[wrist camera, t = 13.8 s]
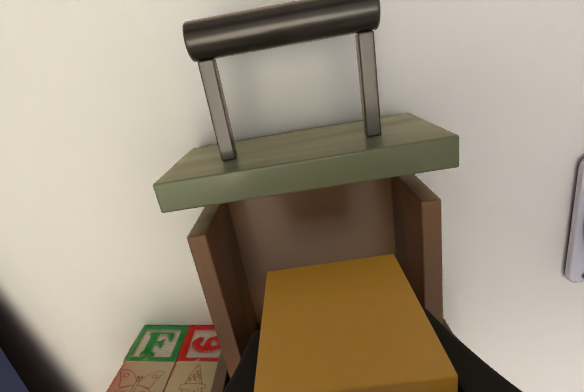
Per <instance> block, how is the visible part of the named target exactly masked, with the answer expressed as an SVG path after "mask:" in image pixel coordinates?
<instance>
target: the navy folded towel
mask: <svg viewBox="0 0 584 392" xmlns="http://www.w3.org/2000/svg"><path fill="white" fill-rule="evenodd" d="M0 392H29V391H28V389H27V388H26V386H25V385H24V383H23V382H22V380H21V379H20V377H19V375H18V374H17V372H16V371H15V369H14V368H13V366H12V365H11V363H10V362H9V360H8V359H7V357H6V356H5V354H4V352H3V351H2V349H1V348H0Z"/></svg>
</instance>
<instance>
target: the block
mask: <svg viewBox="0 0 584 392" xmlns="http://www.w3.org/2000/svg"><path fill="white" fill-rule="evenodd" d="M254 392H458V375H457V373H456V371H455V369H454V367H453V365H452V363H451V361H450V360H449V358H448V356H447V354H446V352H445V350H444V348H443V346H442V344H441V343H440V341H439V339H438V337H437V335H436V333H435V331H434V329H433V327H432V326H431V324H430V322H429V320H428V318H427V316H426V314H425V312H424V310H423V309H422V307H421V305H420V303H419V301H418V299H417V297H416V295H415V293H414V292H413V290H412V288H411V286H410V284H409V282H408V280H407V278H406V276H405V275H404V273H403V271H402V269H401V267H400V265H399V263H398V261H397V259H396V258H395V256H394V254H389V255H382V256H375V257H368V258H361V259H354V260H347V261H340V262H333V263H326V264H319V265H312V266H305V267H298V268H290V269H283V270H276V271H269V272H267V278H266V287H265V296H264V305H263V314H262V323H261V332H260V340H259V349H258V358H257V367H256V376H255V385H254Z"/></svg>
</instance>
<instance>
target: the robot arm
mask: <svg viewBox="0 0 584 392" xmlns="http://www.w3.org/2000/svg"><path fill="white" fill-rule="evenodd" d="M583 272H584V159H583V160H582V161H581V162H580V164H579V169H578V177H577V185H576V192H575V200H574V207H573V215H572V223H571V230H570V238H569V246H568V253H567V261H566V268H565V277H566V278H567V279H568V280H569V281H571V282H583V281H584V273H583ZM582 273H583V274H582ZM423 310H424V312H425V314H426V316H427V318H428V320H429V322H430V324H431V326H432V327H433V329H434V331H435V333H436V335H437V337H438V339H439V341H440V343H441V344H442V346H443V348H444V350H445V352H446V354H447V356H448V358H449V360H450V361H451V363H452V365H453V367H454V369H455V371H456V373H457V375H458V392H522V391H521V390H519V389H518V388H517V387H515V386H514V385H513V384H511V383H510V382H509V381H507V380H506V379H505V378H504V377H502V376H501V375H500V374H498V373H497V372H496V371H495V370H493V369H492V368H491V367H490V366H489V365H487V364H486V363H485V362H484V361H483V360H481V359H480V358H479V357H478V356H477V355H476V354H475V353H473V352H472V351H471V350H470V349H469V348H468V347H466V346H465V345H464V344H463V343H462V342H461V341H460V340H459V339H458V338H457V337H455V336H454V335H453V334H452V333H451V332H450V331H449V330H448V329H447V328H446V327H445V326H444V325H443V324H442V323H441V322H440V321H439V320H438V319H437V318H436V317H435V316H434V315H433V314H432V313H431V312H430V311H429V310H427V309H426V308H425V309H423ZM260 332H261V330H259V331H254V333H253V334H252V336H251V338H250V340H249V343H248V345H247V347H246V349H245V351H244V353H243V356H242V358H241V360H240V362H239V364H238V366H237V368H236V369H235V371H234V373H233V375H232V377H231V379H230V381H229V382H228V384H227V386H226V388H225V390H224V391H223V392H254V385H255V376H256V367H257V358H258V349H259V340H260Z"/></svg>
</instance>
